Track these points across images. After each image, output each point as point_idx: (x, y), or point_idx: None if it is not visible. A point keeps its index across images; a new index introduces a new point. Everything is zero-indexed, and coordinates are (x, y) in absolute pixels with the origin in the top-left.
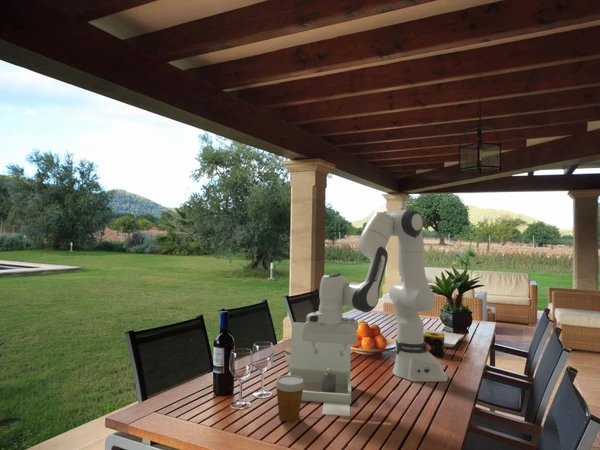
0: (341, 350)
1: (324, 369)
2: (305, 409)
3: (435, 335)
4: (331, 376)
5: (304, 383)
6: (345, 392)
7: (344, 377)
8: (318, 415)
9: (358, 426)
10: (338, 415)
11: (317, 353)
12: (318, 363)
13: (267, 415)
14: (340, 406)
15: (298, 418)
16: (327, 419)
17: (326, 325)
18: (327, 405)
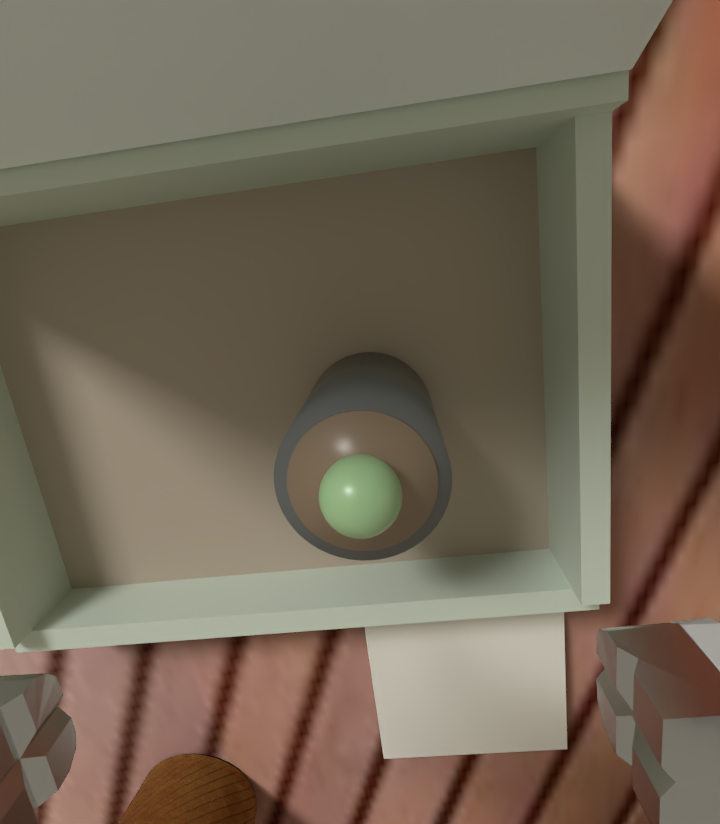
0: (718, 749)
1: (240, 124)
2: (260, 685)
3: None
4: (403, 549)
5: None
6: (521, 350)
7: (523, 130)
8: (359, 739)
9: (610, 808)
10: (487, 748)
11: (58, 771)
12: (104, 80)
13: (77, 794)
14: (494, 641)
15: (256, 803)
16: (421, 771)
17: None
18: (398, 647)
